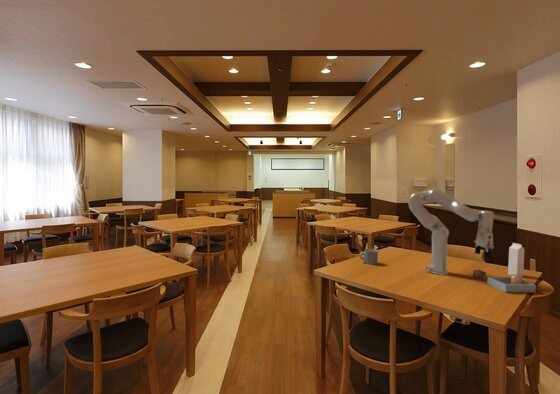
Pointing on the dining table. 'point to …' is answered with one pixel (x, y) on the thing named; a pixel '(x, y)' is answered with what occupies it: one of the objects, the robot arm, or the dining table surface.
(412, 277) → the dining table surface
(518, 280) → the terracotta cylinder
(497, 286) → the tray
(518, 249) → the milk
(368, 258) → the coffee mug
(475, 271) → the walnut cube
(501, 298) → the dining table surface
